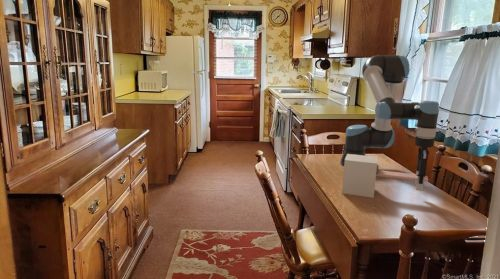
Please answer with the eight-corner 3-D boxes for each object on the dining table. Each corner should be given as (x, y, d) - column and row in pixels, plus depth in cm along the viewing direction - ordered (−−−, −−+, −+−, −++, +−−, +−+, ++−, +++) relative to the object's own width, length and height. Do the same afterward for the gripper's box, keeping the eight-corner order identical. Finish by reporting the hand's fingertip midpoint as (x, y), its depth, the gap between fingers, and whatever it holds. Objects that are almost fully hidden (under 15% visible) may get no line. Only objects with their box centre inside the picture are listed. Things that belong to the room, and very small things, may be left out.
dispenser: (344, 185, 182) (347, 153, 179) (376, 189, 177) (379, 157, 174) (341, 193, 171) (344, 159, 168) (375, 197, 166) (379, 163, 163)
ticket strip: (370, 171, 174) (370, 169, 173) (426, 177, 166) (427, 175, 165) (370, 174, 168) (370, 172, 168) (428, 181, 160) (428, 179, 160)
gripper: (414, 132, 170) (408, 180, 175) (417, 140, 152) (411, 193, 157) (432, 133, 167) (425, 182, 172) (437, 142, 150) (430, 196, 155)
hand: (418, 187), depth 165 cm, fingers closed on ticket strip, 6 cm apart
